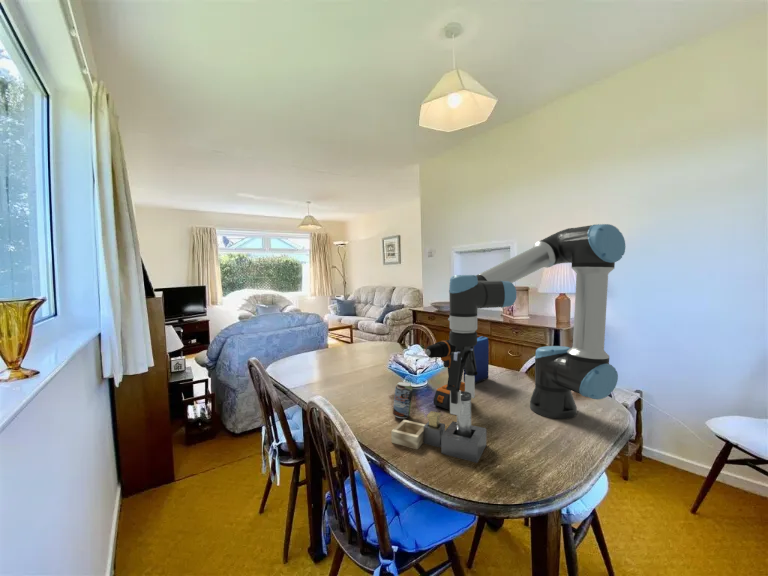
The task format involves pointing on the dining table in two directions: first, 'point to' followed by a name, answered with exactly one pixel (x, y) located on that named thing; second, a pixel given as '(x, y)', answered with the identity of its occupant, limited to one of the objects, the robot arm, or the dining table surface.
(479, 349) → the book
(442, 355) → the power drill
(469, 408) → the capped tube
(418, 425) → the wooden tray
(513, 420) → the dining table surface
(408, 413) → the beverage can
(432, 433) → the socket block
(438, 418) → the tan wooden peg
